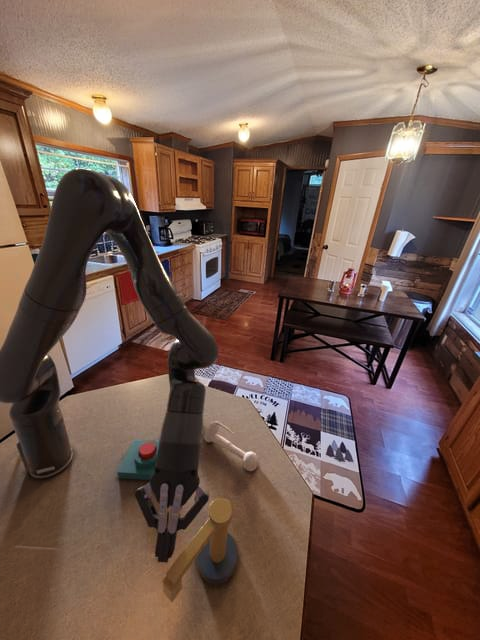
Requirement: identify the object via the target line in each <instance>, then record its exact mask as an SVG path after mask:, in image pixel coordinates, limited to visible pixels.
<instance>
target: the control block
mask: <svg viewBox="0 0 480 640" xmlns="http://www.w3.org/2000/svg"><path fill="white" fill-rule="evenodd" d="M159 441H160V440H159ZM159 441H158V440H145V439H144V440H142V439H133V440H132V442H131V444H130V446H129V448H128V450H127V452H126V454H125V456H124V458H123V460H122V462H121V464H120V466H119V469H118V470H117V477H118V479H130V480H141V481H142V480H145V481H150V478H151V476H152V475H153V473H154V470H155V464H156V459H157V453H158V447H159ZM146 442H152V443H154V444H155V450H156V452H155V454H154V456H153V457H151V458H149V459H142V458H141V457H140V452H139V449H140V446H141V445H142V444H144V443H146Z"/></svg>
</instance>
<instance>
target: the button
mask: <svg viewBox="0 0 480 640" xmlns="http://www.w3.org/2000/svg"><path fill="white" fill-rule="evenodd" d="M139 452H140V457H141V458H142V459H149V458H151V457H153V456H154V454H155V452H156V450H155V444H154V443H152V442H146V443H144V444H142V445H141V446H140V449H139Z"/></svg>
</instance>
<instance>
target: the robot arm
mask: <svg viewBox="0 0 480 640" xmlns="http://www.w3.org/2000/svg"><path fill="white" fill-rule="evenodd" d="M142 219H143V218H142V216H141V215H140V211H139V209H138V207H137V205H136V202H135V200H134V198H133V196H132V193H131V192H130V190H129V189H128V187H127V186H126V185H125V184H124V183H123V182H122V181H120V180H119V179H117V178H115V177H113V176H111V175H107V174H105V173H101V172H98V171H96V170H93V169H89V168H80V167H79V168H74V169H71V170H69V171H67V172H66V173H65V174H64V175H62V177H61V178H60V180H59V181H58V183H57V185H56V188H55V191H54V194H53V198H52V202H51V207H50V210H49V216H48V220H47V224H46V229H45V233H44V235H43V236H44V237H43V240H42V243H41V245H40V248H39V251H38V254H37V256H36V259H35V262H34V265H33V268H32V271H31V273H30V276H29V278H28V280H27V282H26V284H25V287H24V289H23V291H22V294H21V297H20V299H19V301H18V305H17V309H16V311H15V314H14V316H13V318H12V320H11V324H10V326H9V328H8V331H7V334H6V336H5V339H4V342H3V343H2V346H1V347H0V403H2V404H11V406H10V408H9V411H8V416H9V419H10V421H11V423H12V427H13V429H14V432H15V435H16V438H17V441H18V442H17V444H16V448H17V450H18V453H19V456H20V459H21V462H22V464H23V467H24V468H25V472H26V473H29V474H30V476H31V477H32V478H34V479H37V480H42V479H43V480H44V479H49V478H52V477H53V476H56V475H58V474H59V473H61V472H62V471H64V470H65V469H67V467H68V466H69V465H70V463H72V460H73V457H74V451H73V448H72V445H71V442H70V438H69V434H68V431H67V427H66V423H65V419H64V415H63V412H62V408H61V404H60V398H61V385H60V381H59V375H58V371H57V367H56V363H55V362H54V360H53V358H52V357H51V356H50V354H49V353H50V351H52V349H53V348H55V346H56V345H57V344H58V343H59V342H60V340H61V339H62V338H63V337H64V336H65V334H66V333H67V332H68V331H69V330H70V328H71V327H72V325H73V324H74V322H75V320H76V319H77V317H78V316H79V313H80V311H81V309H82V307H83V304H84V303H85V300H86V296H87V288H88V287H87V276H86V275H87V273H86V271H87V266H88V262H89V260H90V257H91V255H92V254H93V252H94V249H95V248H96V246H97V244H98V242H99V241H100V239H101V238H102V236H103V235H104V234H105V233H106V234H107V235H108V236H109V237H110V239H111V240H112V241H113V242H114V243H115V245H116V246H117V248H118V249H119V251H120V253H121V254H122V256H123V258H124V260H125V263H126V265H127V268H128V270H129V273H130V277H131V280H132V284H133V288H134V290H135V293H136V296H137V298H138V300H139V302H140V304H141V305H142V307H143V309H144V311H145V312H146V314H147V316H148V317H149V318H150V320H151V322H152V323H153V324H154V326H155V327H156V329H157V330H158V332H160V333H161V334H163V335H168V336H171V337H173V338H175V341H173V343H172V344H171V346H170V349H169V351H168V356H167V370H168V383H169V391H168V397H167V402H166V403H167V404H166V409H165V414H164V417H163V421H162V425H161V430H160V436H159V447H158V453H157V459H156V464H155V470H154V473H153V475H152V476H151V478H150V480H149V482H148V483H146V484H145V485H141V486H140V487H139V488H137V490H135V491H134V498H135V499H136V502H137V504H138V506H139V508H140V509H139V510H140V511H141V513H142V515H143V517H144V520H145V523H146V524H147V526H148V527H149V528H153V529H155V530H156V531H157V536H156V542H155V549H154V556H155V558H157V563H165V564H168V563H169V559H172V557H173V555H174V552H175V550H176V542H177V535H178V531H181V530H182V531H184V530H186V529H188V527H189V526H190V525H191V524H192V522H193V521H194V520H195V518H196V517H197V516H198V514H200V512H201V511H202V509H203V508H204V507H205V506H206V504H207V503H208V501H209V499H210V492H209V491H208V490H205V489H204V488H203V487H202V486H201V484H200V483H201V479H200V477H199V466H200V458H201V457H200V456H201V449H202V441H203V439H204V434H203V432H204V411H205V402H206V396H207V395H206V394H207V392H206V386H205V384H204V383H203V382H202V383H203V384H204V385H203V384H202V383H200V382H197V381H196V380H195V377H196V373H195V370H200V369H202V370H203V369H207V368H210V367H211V366H213V365H215V363H216V362H217V360H218V356H219V348H218V343H217V341H216V339H215V337H214V336H213V334H212V333H211V332H210V331H209V330H208V329H207V327H206V326H205V325H204V324H202V322H201V321H200V320H199V319H197V317H195V316H194V315H193V314H192V312H191V311H190V310H189V308H188V307H187V305H186V302H185V301H184V300H183V299H182V297H181V295H180V293H179V292H178V290H177V288H176V286H175V285H174V283H173V282H172V279H171V278H170V276H169V274H168V273H167V271H166V269H165V267H164V266H163V264H162V261H161V260H160V258H159V256H158V254H157V251H156V249H155V247H154V244H153V242H152V241H151V239H150V236H149V234H148V232H147V229H146V227H145V224H144V222H143V220H142ZM194 493H195V496H194V498H193V500H194V503H193V505H192V506H191V507H190V509H189V510H187V512H186V514H185V515H184V516H182V515H181V514H182V510H183V506H185V505H186V504H187V502H189V500H190V499H191V497H192V496H193V495H194ZM153 495H154V497H155V500H156V503H158V504H159V506H158V510H157V508H156V506H155V504H154V501H153V500H152V498H151V497H152V496H153ZM171 508H172V509H171ZM181 516H182V517H181Z"/></svg>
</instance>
